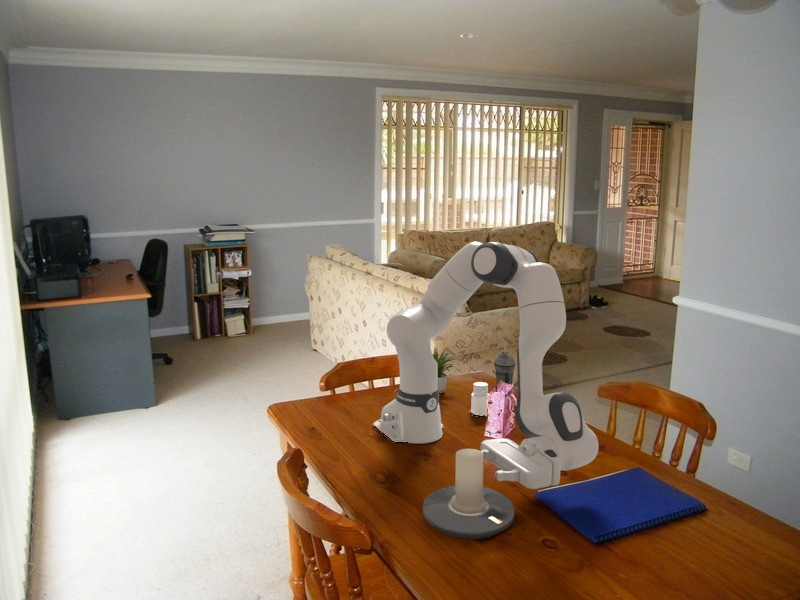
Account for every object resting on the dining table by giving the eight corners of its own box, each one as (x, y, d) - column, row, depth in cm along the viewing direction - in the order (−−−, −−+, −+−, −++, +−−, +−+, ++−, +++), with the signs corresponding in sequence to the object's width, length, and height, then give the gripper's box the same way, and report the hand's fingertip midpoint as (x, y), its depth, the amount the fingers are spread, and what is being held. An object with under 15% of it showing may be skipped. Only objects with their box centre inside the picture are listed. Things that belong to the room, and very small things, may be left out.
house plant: (444, 402, 220) (445, 355, 217) (409, 395, 227) (410, 349, 224) (463, 390, 232) (464, 346, 229) (429, 384, 239) (430, 341, 236)
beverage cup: (513, 392, 229) (515, 337, 226) (515, 399, 222) (517, 342, 219) (492, 392, 230) (494, 337, 227) (493, 398, 223) (495, 342, 219)
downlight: (492, 418, 205) (493, 387, 204) (470, 418, 205) (470, 387, 204) (489, 410, 213) (490, 380, 212) (468, 410, 213) (468, 380, 212)
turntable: (404, 509, 145) (404, 502, 145) (468, 483, 157) (468, 476, 157) (468, 547, 130) (468, 540, 129) (533, 515, 142) (533, 508, 142)
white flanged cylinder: (444, 503, 144) (444, 453, 142) (468, 493, 149) (469, 444, 146) (468, 517, 138) (469, 464, 136) (493, 506, 143) (494, 455, 140)
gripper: (510, 428, 158) (461, 437, 152) (564, 460, 140) (511, 472, 134) (510, 452, 159) (460, 463, 153) (563, 488, 141) (510, 501, 135)
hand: (484, 467), depth 143 cm, fingers open, 8 cm apart
